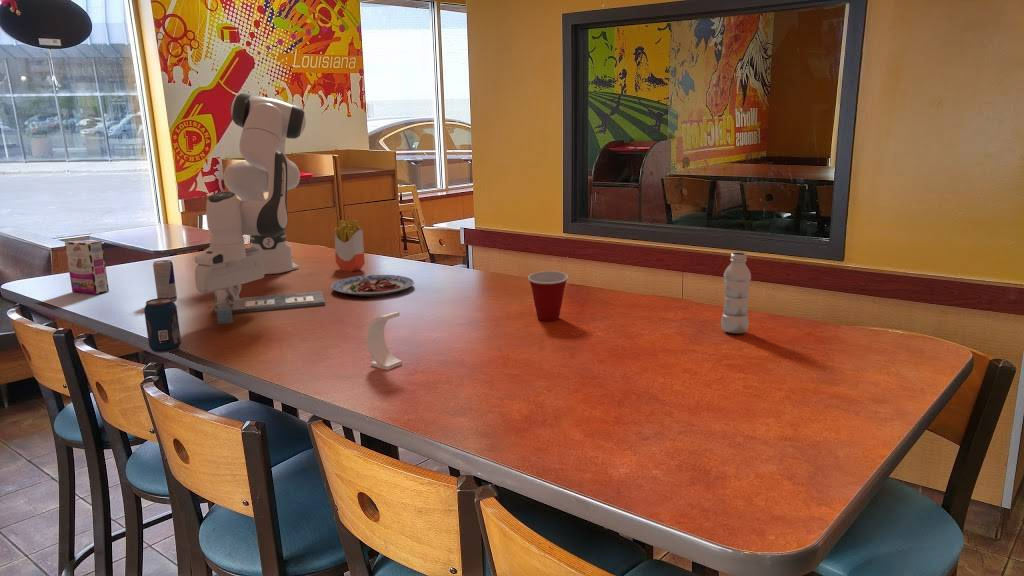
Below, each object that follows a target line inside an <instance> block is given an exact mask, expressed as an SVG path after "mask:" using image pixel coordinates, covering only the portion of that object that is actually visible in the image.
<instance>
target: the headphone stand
mask: <svg viewBox="0 0 1024 576" xmlns="http://www.w3.org/2000/svg"><path fill="white" fill-rule="evenodd" d="M398 317H400V311H393V312H391V313H387V314H383V315H381V316H377V317H375V318H373V319H371V321H370V323H369V324H368V327H367V328H366V335H365V336H366V338H365V340H366V345H367V349H368V352H369V354H370V356H371V358H372V359H373V361H371V362H370V367H374V368H378V369H382V370H386V371H389V370H391V369H394V368H396V367H399V366H401V365H402V364H403V360H401V359H398V357H395V355H394V354H392V352H391V351H390V350H389V347H388V346H387V343H386V340H385V328H386V324H387V322H388V320H392V319H395V318H398Z"/></svg>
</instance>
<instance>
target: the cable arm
mask: <svg viewBox="0 0 1024 576" xmlns="http://www.w3.org/2000/svg"><path fill="white" fill-rule="evenodd" d="M213 293H214V300H215V302H216V303H217V308H218V309H216V308H215V309H216V312H217V315H216V318H217V319H216V320H217V325H220V324H223V325H224V324H230V323H231V324H232V323H234V321H233V320H234V319H233V313H232V309H231V307H230V303H229V300H230V298H229V295H228V294H227V292H226V291H225V289H221V290H217V291H214V292H213Z"/></svg>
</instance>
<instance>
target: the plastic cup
mask: <svg viewBox="0 0 1024 576" xmlns="http://www.w3.org/2000/svg"><path fill="white" fill-rule="evenodd" d="M568 278H569V274H567V273H565V272H562V271H556V270H545V271H544V270H543V271H537V272H533V273H530V274H529V275H528V277H527V279H528V281H529V284H530V286H531V290H532V296H533V302H534V307H535V314H536V316H537V319H538V320H539V321H543V322H554V321H557V320H559V319H560V315H561V309H562V305H563V304H562V303H563V298H564V292H565V288H566V284H567V280H568Z"/></svg>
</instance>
